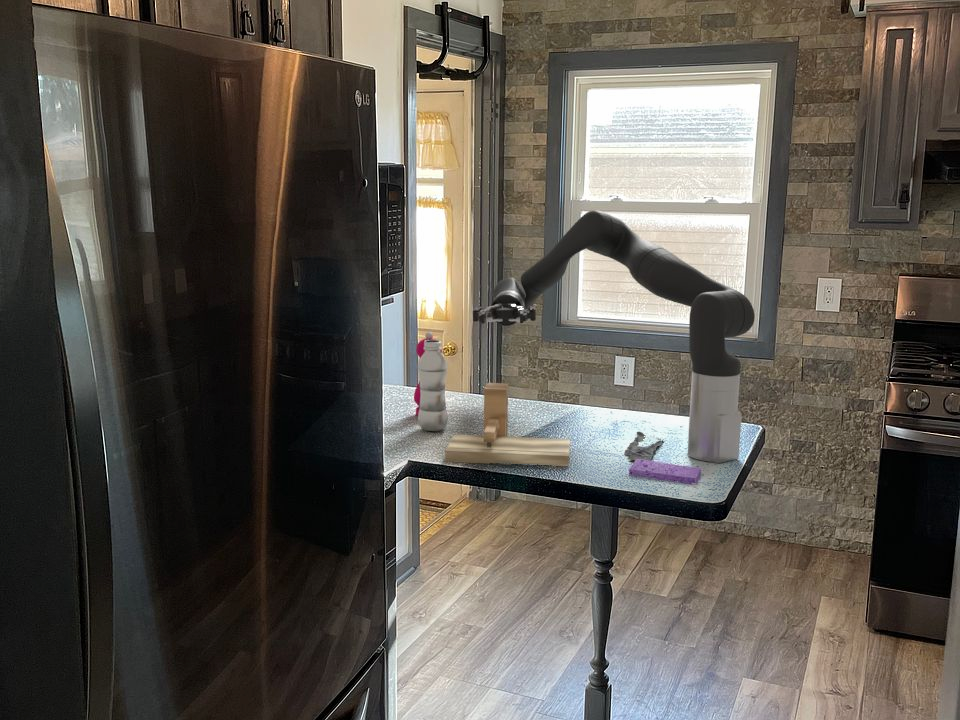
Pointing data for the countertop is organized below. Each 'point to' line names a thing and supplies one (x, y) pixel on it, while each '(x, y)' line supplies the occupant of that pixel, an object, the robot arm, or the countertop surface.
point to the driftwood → (641, 449)
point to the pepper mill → (420, 352)
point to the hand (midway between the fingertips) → (502, 318)
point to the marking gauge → (495, 411)
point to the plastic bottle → (432, 387)
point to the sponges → (665, 471)
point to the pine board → (508, 450)
